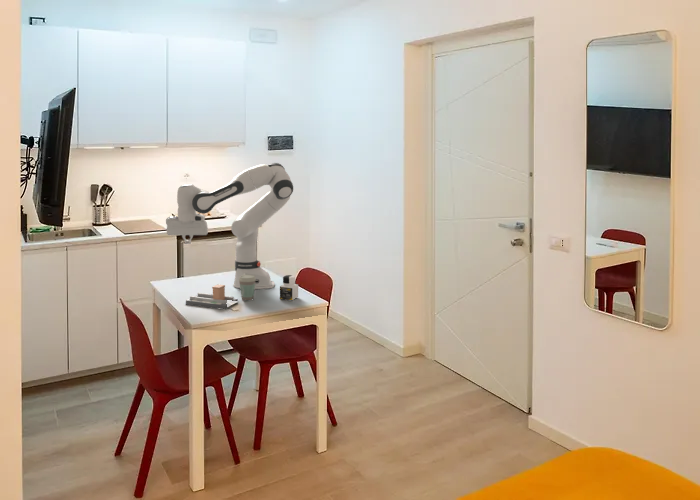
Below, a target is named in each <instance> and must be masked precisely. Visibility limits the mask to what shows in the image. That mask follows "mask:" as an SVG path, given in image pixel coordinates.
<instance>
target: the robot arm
mask: <svg viewBox="0 0 700 500" xmlns="http://www.w3.org/2000/svg"><path fill="white" fill-rule="evenodd" d="M264 186H269V187H270V190H269V191H268V192H267V193H266V194H264V195H263V196H262V197H261V198H259V200H258V201H256V202H255V203H253V205H251V206H250V207H249V208H247V209H246V210H245V211H244V212H243V213H241V214H240V215H239V216H238V217H236V218H235V219H234V220H233V222H232V224H231V226H230V228H231V232H232V234H233V236H235V237H236V238H237V240H236V244H235V260H234V270H235V275H234V276H235V277H234V282H233V284H232V286H233V287H234V288H236V289H240V282H239V277H240V276H241V275H254V276H255V278H256V280H255V288H254V290H265V289H272V288H274V287H275V286H276V285H275V281H274V280H271V276H270V272H268V271H266V269H264V268H262V267H261V264H262V263H261V261H260V260H258V259H257V244H258V243H257V242H258V234H259V233H258V232H259V227H261V226H262V225H263V224H265V223H266V222H267V221H269V219H271V218H272V217H273V216H274V215H275V214H276V213H278V212H279V211H280V210H281V209H282V208H283V207H284V206H285V205H286V204H287V203H288V202H289V200H290V199H291V195H292V194H293V192H294V184H293V182H292V180H291V177H290V176H289V174H288V172H287V170H286V169H285V166H283V165H282V164H281V163H280V162H272V163H269V164H267V163H266V164H263V163H262V164H257V165H254V166H251V167H249V168H247V169H244V170H243V171H241V172H239V173H237V175H235V176H234V177H233V178H232V180H231V181H230V182H228V183H227V184H225V185H224V186H222V187H219V188H217V189H216V190H213V191H211V192H210V191H209V190H208V191H207V190H204V189H201V188H199V187H198V186H195V185H194V184H191V183H187V184H183V185H180V186H179V187H178V189H177V195H176V197H177V198H176V200H177V201H176V202H177V207H178V208H177V216H169V217H167V218H166V219H165V224H166V234H167V236H181V238H182V240H183V241H184V244H185V245H187V244H188V245H191V244H192V239H193V237H194V236H207V235H208V233H209V227H208V223H207V221H206V215H205V214H207V213H209V212H211V211H212V210H213V209H214V207H215V206H216V205H218V204H220V203H221V202H223V201H226V200H228V199H230V198H233V197H236V196H239V195H243V194H247V193H250V192H253V191H256V190H258V189H260V188H262V187H264ZM186 236H189V239H186Z"/></svg>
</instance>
